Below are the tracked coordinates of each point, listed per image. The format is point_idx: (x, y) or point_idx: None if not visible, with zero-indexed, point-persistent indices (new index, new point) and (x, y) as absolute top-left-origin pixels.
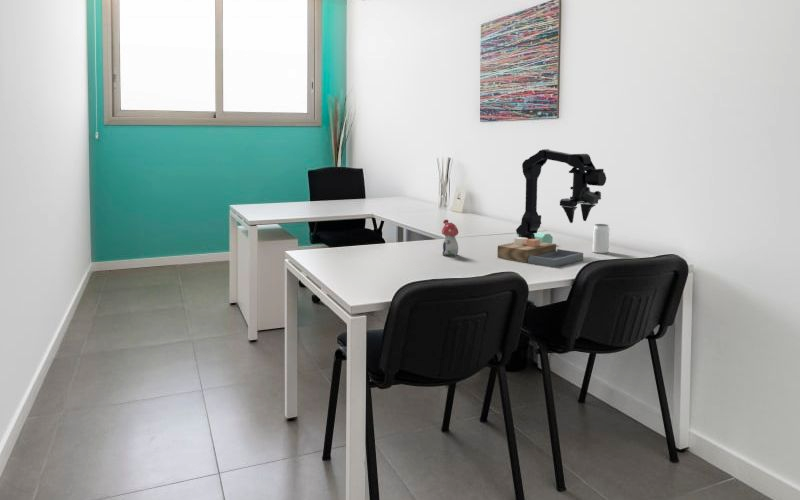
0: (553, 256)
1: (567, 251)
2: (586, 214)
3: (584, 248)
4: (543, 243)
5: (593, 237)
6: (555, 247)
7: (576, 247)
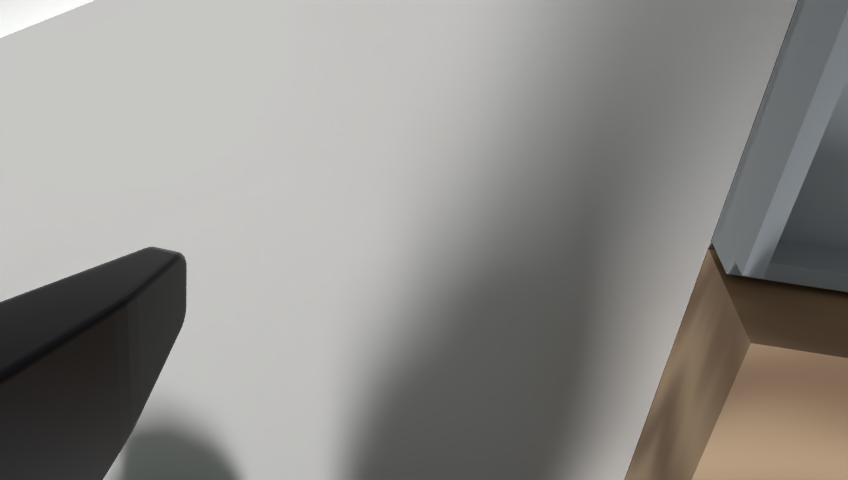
0: (845, 235)
1: (827, 107)
2: (34, 392)
3: (27, 166)
4: (781, 476)
5: (44, 7)
6: (751, 315)
7: (52, 261)
